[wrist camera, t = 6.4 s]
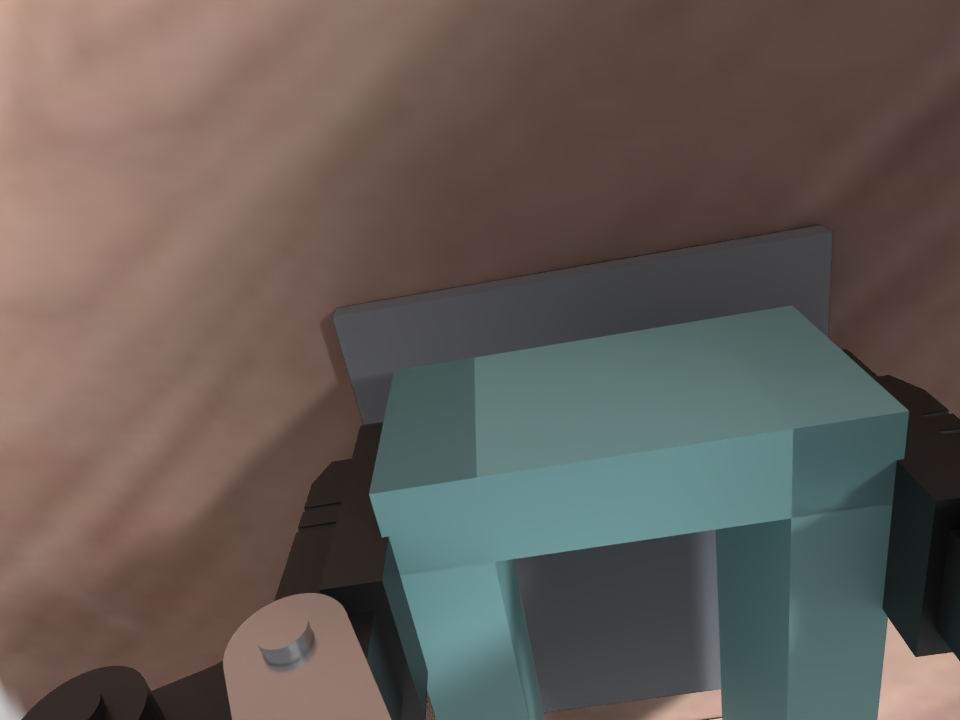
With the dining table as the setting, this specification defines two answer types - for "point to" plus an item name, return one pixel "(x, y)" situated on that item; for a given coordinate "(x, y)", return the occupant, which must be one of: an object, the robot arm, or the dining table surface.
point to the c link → (650, 502)
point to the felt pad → (619, 567)
